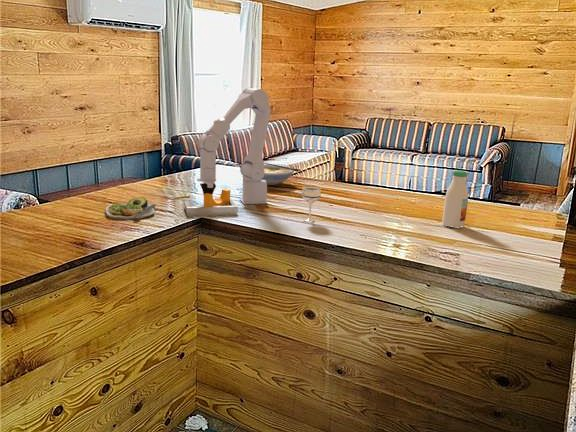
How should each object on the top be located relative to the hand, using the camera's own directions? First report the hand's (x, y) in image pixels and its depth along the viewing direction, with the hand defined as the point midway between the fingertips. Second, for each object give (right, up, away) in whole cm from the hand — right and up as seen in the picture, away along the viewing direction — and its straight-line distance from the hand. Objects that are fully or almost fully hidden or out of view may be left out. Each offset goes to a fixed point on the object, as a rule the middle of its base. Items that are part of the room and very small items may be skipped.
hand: (207, 202), depth 200 cm
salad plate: (-25, -5, -13) cm, 29 cm away
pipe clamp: (+3, -2, -1) cm, 4 cm away
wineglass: (+38, -7, -13) cm, 41 cm away
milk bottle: (+90, -9, -11) cm, 91 cm away
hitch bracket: (+2, -3, -6) cm, 7 cm away
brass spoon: (-13, +2, +12) cm, 18 cm away
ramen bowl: (+22, +9, +44) cm, 50 cm away
